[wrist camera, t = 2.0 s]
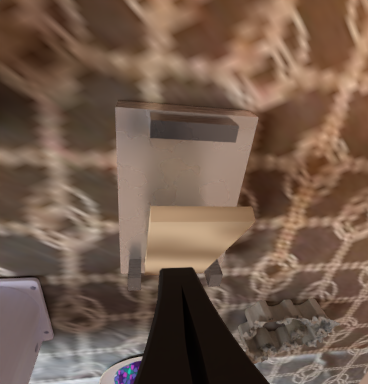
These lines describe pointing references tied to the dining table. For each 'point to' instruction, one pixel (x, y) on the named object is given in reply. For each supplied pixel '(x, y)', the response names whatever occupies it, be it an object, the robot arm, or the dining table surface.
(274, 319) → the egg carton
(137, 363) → the purple beige domed disc
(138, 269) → the block
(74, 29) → the dining table surface
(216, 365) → the robot arm
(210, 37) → the dining table surface
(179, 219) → the latch bar
